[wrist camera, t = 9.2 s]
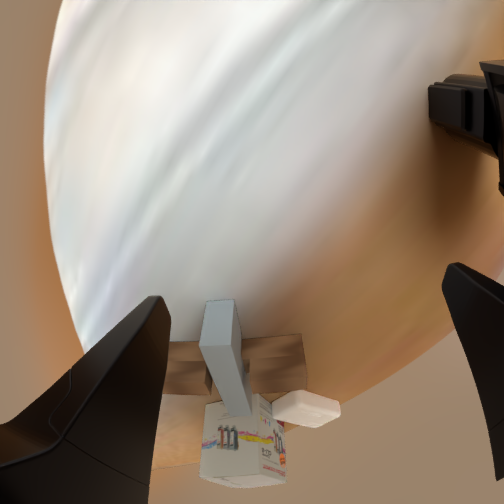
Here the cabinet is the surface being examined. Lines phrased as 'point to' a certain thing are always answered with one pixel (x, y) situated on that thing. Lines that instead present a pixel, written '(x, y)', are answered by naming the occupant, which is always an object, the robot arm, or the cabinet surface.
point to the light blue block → (226, 356)
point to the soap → (305, 409)
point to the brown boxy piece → (255, 362)
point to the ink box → (243, 446)
